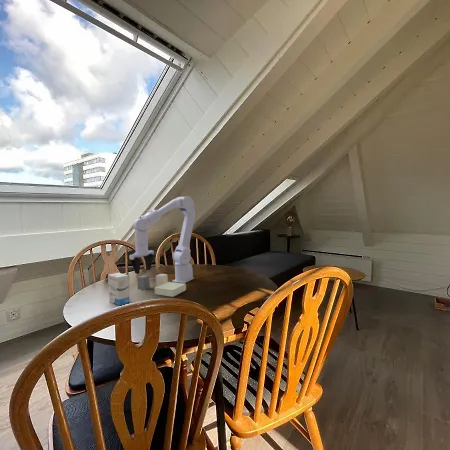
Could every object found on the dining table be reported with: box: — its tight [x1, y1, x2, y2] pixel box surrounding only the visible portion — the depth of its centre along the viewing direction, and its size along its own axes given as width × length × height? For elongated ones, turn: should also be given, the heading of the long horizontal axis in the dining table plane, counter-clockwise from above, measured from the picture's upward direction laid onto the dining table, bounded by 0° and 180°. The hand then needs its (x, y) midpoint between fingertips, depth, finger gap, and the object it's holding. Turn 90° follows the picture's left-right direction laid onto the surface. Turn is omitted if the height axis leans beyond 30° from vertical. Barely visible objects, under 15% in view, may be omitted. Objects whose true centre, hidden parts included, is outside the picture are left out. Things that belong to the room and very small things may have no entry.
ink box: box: [107, 272, 131, 307], centre depth 118 cm, size 8×5×12 cm, turn 48°
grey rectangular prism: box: [136, 274, 151, 291], centre depth 137 cm, size 4×4×6 cm
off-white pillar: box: [155, 273, 169, 287], centre depth 138 cm, size 4×4×6 cm
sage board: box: [154, 281, 187, 297], centre depth 130 cm, size 10×10×3 cm
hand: (142, 271), depth 136 cm, fingers open, 7 cm apart
